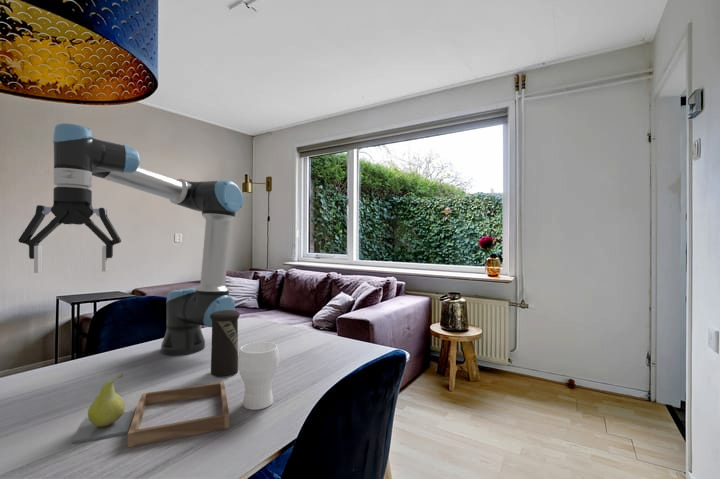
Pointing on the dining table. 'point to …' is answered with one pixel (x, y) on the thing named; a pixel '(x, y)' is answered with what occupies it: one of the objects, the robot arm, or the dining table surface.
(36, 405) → the dining table surface
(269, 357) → the cup
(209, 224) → the robot arm
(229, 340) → the container
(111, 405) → the fruit
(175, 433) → the walnut frame
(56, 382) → the dining table surface
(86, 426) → the slate coaster
